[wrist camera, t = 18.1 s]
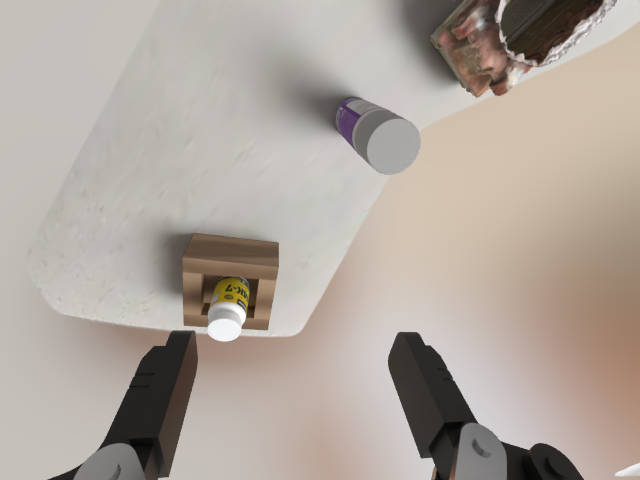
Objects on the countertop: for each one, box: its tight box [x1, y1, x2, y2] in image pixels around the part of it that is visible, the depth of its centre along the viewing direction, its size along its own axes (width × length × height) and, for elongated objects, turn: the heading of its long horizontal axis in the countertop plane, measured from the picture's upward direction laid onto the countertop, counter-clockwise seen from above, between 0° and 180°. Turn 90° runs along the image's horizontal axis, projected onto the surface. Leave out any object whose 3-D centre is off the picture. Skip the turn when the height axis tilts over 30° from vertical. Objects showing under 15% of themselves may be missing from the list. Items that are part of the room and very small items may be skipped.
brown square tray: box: [182, 233, 279, 330], centre depth 43 cm, size 12×12×6 cm
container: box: [335, 97, 420, 175], centre depth 30 cm, size 5×5×15 cm
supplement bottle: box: [207, 276, 250, 341], centre depth 39 cm, size 5×5×8 cm
